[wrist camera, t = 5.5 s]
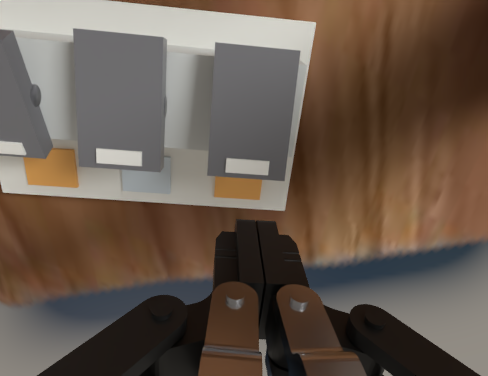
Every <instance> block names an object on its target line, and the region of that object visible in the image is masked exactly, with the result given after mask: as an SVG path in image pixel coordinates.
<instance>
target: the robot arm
mask: <svg viewBox="0 0 488 376" xmlns="http://www.w3.org/2000/svg"><path fill="white" fill-rule="evenodd" d="M259 339H266V344H267V350H266V355H265V365H266V370H267V375H268V376H384V375H382V374H383V372H384V369H385V370H387V371H388V372H389V373H391V374H392V375H393V376H480V375H479V374H477V373H475V372H474V371H473V370H471V369H470V368H468V367H467V366H465V365H464V364H463V363H461V362H460V361H458V360H457V359H455V358H454V357H452V356H451V355H449V354H448V353H446V352H445V351H443V350H442V349H441V348H439V347H438V346H436V345H435V344H433V343H432V342H430V341H429V340H427V339H426V338H424V337H423V336H421V335H420V334H418V333H417V332H415V331H414V330H412V329H411V328H410V327H408V326H407V325H405V324H404V323H402V322H401V321H399V320H398V319H396V318H395V317H394V316H392V315H391V314H389V313H388V312H386V311H385V310H383V309H381V308H379V307H376V306H373V305H368V304H363V305H357V306H355V307H354V308H353V309H352V310H351V312H350V314H348V313H345V312H342V311H338V310H335V309H332V308H329V307H327V306H325V305H323V304H322V301H321V299H320V297H319V296H318V294H316V293H315V292H314V291H313V290H311V289H310V288H309V284H308V281H307V278H306V274H305V271H304V268H303V264H302V262H301V258H300V255H299V251H298V248H297V245H296V243H295V242H294V241H293V240H292V239H291V237H290V236H289V235H279V234H278V230H277V226H276V222H275V221H259V220H256V222H255V220H241V219H236V223H235V232H224V231H222V232H221V233H220V235H219V236H218V237H217V238H216V246H215V258H214V271H213V291H212V293H211V294H210V296H208V297H207V298H206V299H204V300H203V301H201V302H198V303H194V304H190V305H185V304H184V303H183V301H181V300H180V299H178V298H177V297H174V296H170V295H158V296H154V297H151V298H149V299H147V300H145V301H144V302H142V303H141V304H139V305H138V306H137V307H135V308H134V309H132V310H131V311H129V312H128V313H127V314H125V315H124V316H122V317H121V318H119V319H118V320H116V321H115V322H114V323H112V324H111V325H109V326H108V327H106V328H105V329H103V330H102V331H101V332H99V333H98V334H96V335H95V336H94V337H92V338H91V339H89V340H88V341H86V342H85V343H83V344H82V345H80V346H79V347H78V348H76V349H75V350H73V351H72V352H70V353H69V354H68V355H66V356H65V357H63V358H62V359H61V360H59V361H57V362H56V363H55V364H53V365H52V366H50V367H49V368H48V369H46V370H45V371H43V372H42V373H40V374H39V375H37V376H262V354H261V352H259Z"/></svg>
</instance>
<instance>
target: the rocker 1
mask: <svg viewBox="0 0 488 376" xmlns="http://www.w3.org/2000/svg"><path fill="white" fill-rule="evenodd" d="M40 103H41V91H40V88H39V87H38V85H36V84H32V83H31V80H30V78H29V75H28V72H27V69H26V66H25V63H24V60H23V57H22V54H21V52H20V49H19V46H18V43H17V40H16V37H15V34H14V31H11V30H1V29H0V156H13V157H27V158H41V159H46V158H47V156H48V154H49V153H50V151H51V149H52V148H53V144H52V141H51V138H50V135H49V132H48V129H47V126H46V124H45V121H44V118H43V115H42V112H41V109H40V106H39V105H40Z"/></svg>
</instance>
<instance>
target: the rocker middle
mask: <svg viewBox="0 0 488 376" xmlns="http://www.w3.org/2000/svg"><path fill="white" fill-rule="evenodd" d="M73 41H74V65H75V88H76V112H77V135H78V159H79V167H92V168H106V169H120V170H134V171H148V172H161V171H162V169H163V168H164V141H165V117H166V113H167V97H166V62H167V39H165V38H164V37H158V36H147V35H137V34H127V33H117V32H107V31H97V30H87V29H77V28H73Z"/></svg>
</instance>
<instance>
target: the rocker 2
mask: <svg viewBox="0 0 488 376" xmlns="http://www.w3.org/2000/svg"><path fill="white" fill-rule="evenodd" d="M299 60H300V51H299V50H289V49H279V48H269V47H258V46H248V45H238V44H228V43H218V42H215V54H214V71H213V87H212V104H211V121H210V137H209V154H208V170H207V176H218V177H232V178H246V179H260V180H274V181H285V173H286V165H287V157H288V149H289V141H290V133H291V125H292V116H293V108H294V100H295V92H296V84H297V76H298V68H299Z"/></svg>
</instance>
